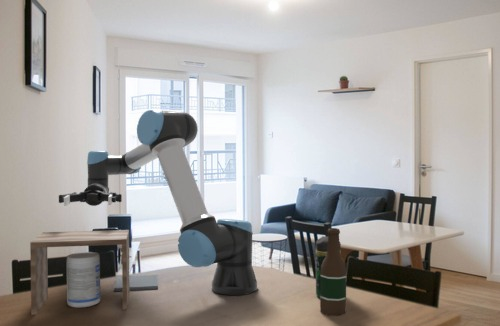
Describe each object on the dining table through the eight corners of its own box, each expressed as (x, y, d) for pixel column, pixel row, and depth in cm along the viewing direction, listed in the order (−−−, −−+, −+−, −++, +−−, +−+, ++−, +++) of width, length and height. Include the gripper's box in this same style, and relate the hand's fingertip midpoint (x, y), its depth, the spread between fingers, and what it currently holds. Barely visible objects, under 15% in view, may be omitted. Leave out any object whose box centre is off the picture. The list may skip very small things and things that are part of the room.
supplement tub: (104, 305, 146) (104, 256, 145) (71, 310, 140) (70, 260, 140) (95, 296, 154) (94, 250, 153) (63, 301, 149) (63, 253, 148)
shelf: (126, 309, 142) (126, 239, 141) (31, 315, 137) (30, 242, 136) (129, 292, 158) (129, 229, 157) (43, 297, 152) (42, 232, 152)
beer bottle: (340, 318, 135) (341, 232, 134) (314, 313, 139) (315, 229, 138) (350, 310, 141) (351, 228, 141) (325, 305, 146) (326, 225, 145)
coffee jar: (315, 290, 161) (315, 234, 160) (339, 291, 160) (340, 235, 159) (315, 299, 151) (315, 240, 151) (341, 300, 150) (341, 240, 150)
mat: (157, 288, 162) (157, 285, 162) (114, 291, 159) (114, 288, 159) (157, 277, 176) (157, 274, 176) (117, 279, 173) (117, 276, 173)
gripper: (130, 204, 180) (127, 212, 159) (58, 205, 175) (46, 213, 154) (130, 183, 180) (127, 189, 159) (58, 184, 175) (46, 190, 154)
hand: (87, 201), depth 157 cm, fingers open, 13 cm apart
